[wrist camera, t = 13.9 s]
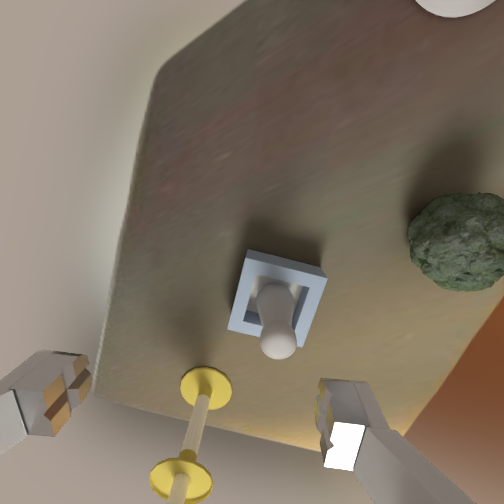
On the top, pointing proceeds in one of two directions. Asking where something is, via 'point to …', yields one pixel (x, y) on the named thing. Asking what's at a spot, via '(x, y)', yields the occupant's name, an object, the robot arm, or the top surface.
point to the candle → (192, 440)
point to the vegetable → (460, 241)
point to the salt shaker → (276, 321)
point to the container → (278, 272)
